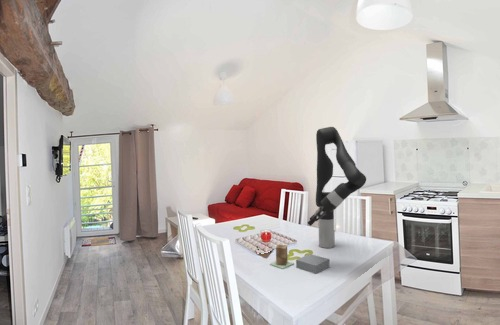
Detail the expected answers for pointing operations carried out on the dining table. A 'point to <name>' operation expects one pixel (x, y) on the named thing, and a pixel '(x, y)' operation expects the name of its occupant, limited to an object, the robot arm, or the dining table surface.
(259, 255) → the wooden fragment
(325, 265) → the gray square slab
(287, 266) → the mat
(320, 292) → the dining table surface
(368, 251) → the dining table surface
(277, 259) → the walnut block
